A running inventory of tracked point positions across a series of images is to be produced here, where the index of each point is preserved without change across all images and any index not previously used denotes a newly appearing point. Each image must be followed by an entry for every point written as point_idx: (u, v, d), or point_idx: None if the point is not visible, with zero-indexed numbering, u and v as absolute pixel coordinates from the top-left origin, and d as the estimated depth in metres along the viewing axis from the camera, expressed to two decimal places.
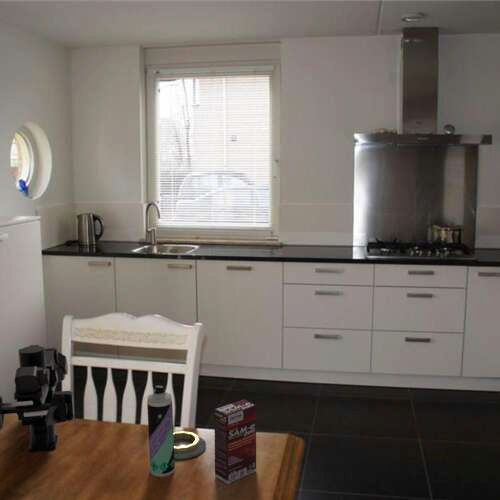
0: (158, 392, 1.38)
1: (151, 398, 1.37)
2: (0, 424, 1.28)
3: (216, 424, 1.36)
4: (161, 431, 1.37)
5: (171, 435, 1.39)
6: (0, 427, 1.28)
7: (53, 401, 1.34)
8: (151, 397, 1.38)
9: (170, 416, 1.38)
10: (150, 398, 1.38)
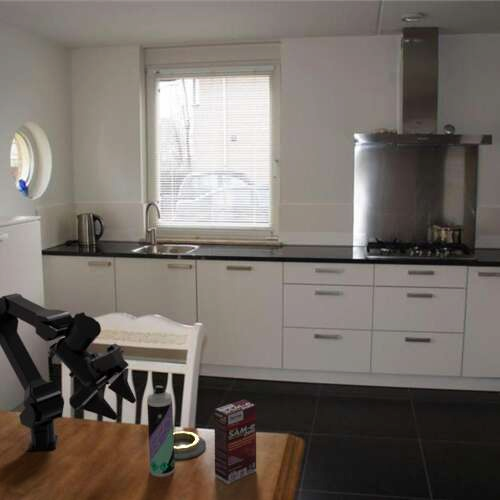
0: (158, 392, 1.38)
1: (151, 398, 1.37)
2: None
3: (216, 424, 1.36)
4: (161, 431, 1.37)
5: (171, 435, 1.39)
6: None
7: (124, 376, 1.46)
8: (151, 397, 1.38)
9: (170, 416, 1.38)
10: (150, 398, 1.38)
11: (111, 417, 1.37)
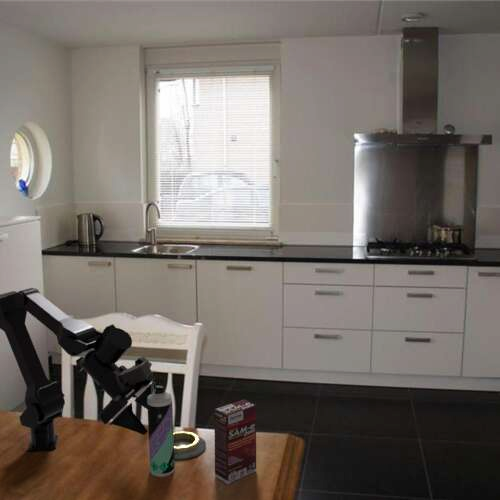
0: (158, 392, 1.38)
1: (151, 398, 1.37)
2: None
3: (216, 424, 1.36)
4: (161, 431, 1.37)
5: (171, 435, 1.39)
6: None
7: (151, 389, 1.45)
8: (151, 397, 1.38)
9: (170, 416, 1.38)
10: (150, 398, 1.38)
11: (140, 431, 1.36)
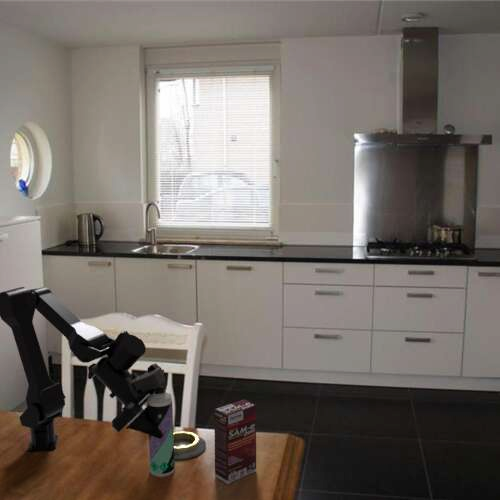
0: (158, 392, 1.38)
1: (151, 398, 1.37)
2: None
3: (216, 424, 1.36)
4: (161, 431, 1.37)
5: (171, 435, 1.39)
6: None
7: None
8: (151, 397, 1.38)
9: (170, 416, 1.38)
10: (150, 398, 1.38)
11: (156, 435, 1.37)
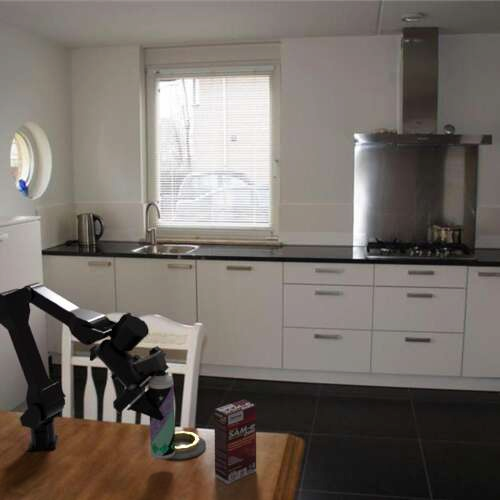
0: (159, 374, 1.38)
1: (152, 381, 1.38)
2: None
3: (216, 424, 1.36)
4: (162, 413, 1.38)
5: (172, 417, 1.40)
6: None
7: None
8: (152, 379, 1.38)
9: (171, 398, 1.39)
10: (151, 380, 1.38)
11: (157, 417, 1.38)
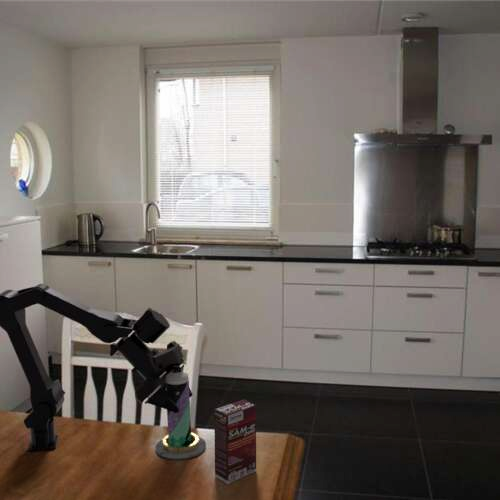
0: (176, 371, 1.48)
1: (169, 377, 1.48)
2: None
3: (216, 424, 1.36)
4: (179, 407, 1.48)
5: (188, 411, 1.50)
6: None
7: None
8: (169, 376, 1.48)
9: (187, 393, 1.49)
10: (168, 377, 1.48)
11: (173, 410, 1.46)
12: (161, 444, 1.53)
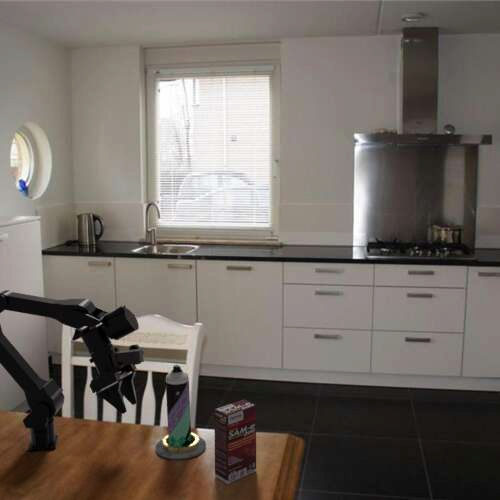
0: (176, 371, 1.48)
1: (169, 377, 1.48)
2: None
3: (216, 424, 1.36)
4: (179, 407, 1.48)
5: (188, 411, 1.50)
6: None
7: (132, 377, 1.55)
8: (169, 376, 1.48)
9: (187, 393, 1.49)
10: (168, 377, 1.48)
11: (120, 410, 1.44)
12: (161, 444, 1.53)
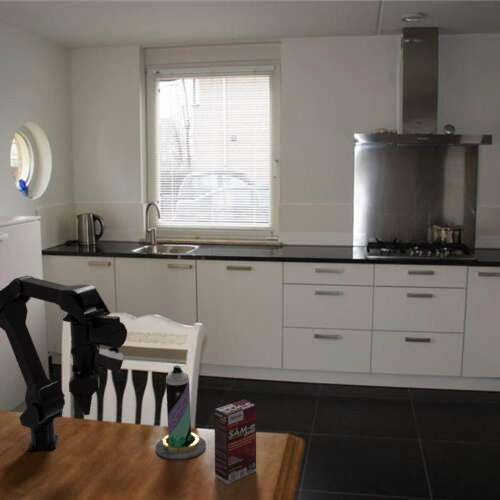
0: (176, 372, 1.48)
1: (170, 378, 1.48)
2: None
3: (216, 424, 1.36)
4: (179, 408, 1.48)
5: (188, 412, 1.50)
6: None
7: None
8: (169, 376, 1.48)
9: (187, 394, 1.49)
10: (169, 377, 1.48)
11: (85, 411, 1.40)
12: (161, 444, 1.53)
